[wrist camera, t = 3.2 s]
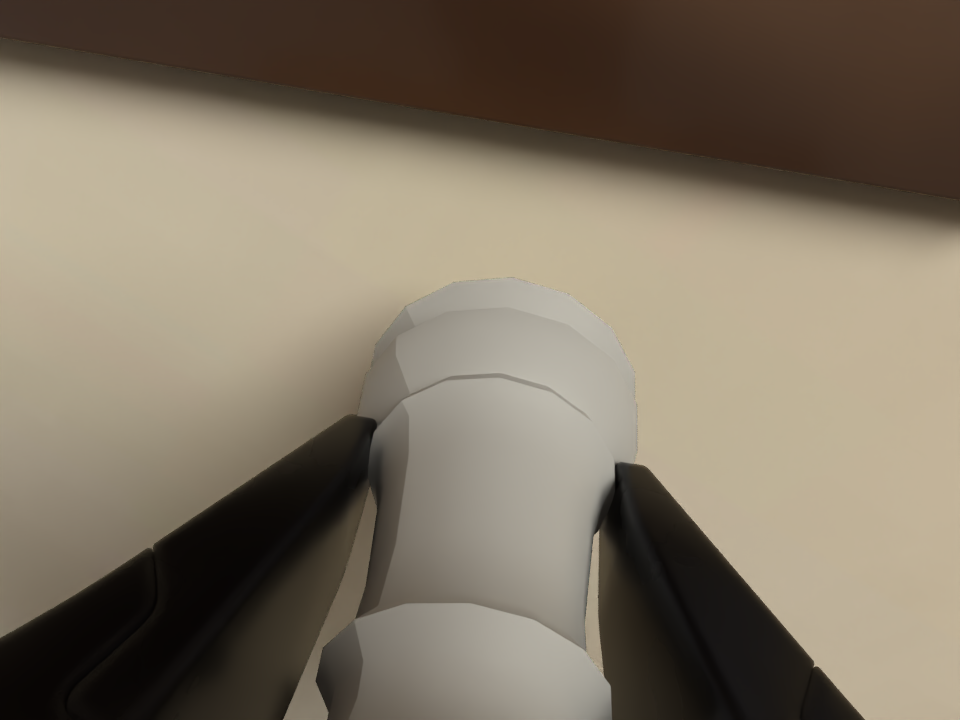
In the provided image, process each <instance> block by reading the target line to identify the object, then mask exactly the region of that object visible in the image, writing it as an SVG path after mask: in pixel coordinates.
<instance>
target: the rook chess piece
mask: <svg viewBox="0 0 960 720" xmlns="http://www.w3.org/2000/svg"><path fill="white" fill-rule="evenodd" d="M357 416H363V417H369V418H373V419H375V420H376V423H377V429H376V430H375V431H374V434H373V438H372V443H371V447H370V455H369V466H368V479H369V483H370V486H371V490H372V493H373V497H374V500H375V504H376V506H377V515H376V521H375V528H374V535H373V541H372V548H371V555H370V561H369V568H368V575H367V581H366V587H365V590H364V593H363V596H362V600H361V603H360V606H359V609H358V612H357V616H356V619H355V620H353V621H352V622H351V623H350V624H349V625H348V626H347V627H346V628H344V629H343V630H342V631H341V632H340V633H339V634H338V635H337V636H336V637H334V638H333V639H332V640H331V641H330V642H329V643H328V644H327V645H326V646H324V647H323V650H322V655H321V659H320V664H319V668H318V673H317V677H316V683H317V686H318V688H319V690H320V693H321V695H322V698H323V700H324V702H325V705H326V707H327V710H328V712H329V713H328V719H327V720H612V707H611V686H610V684H609V683H608V682H607V680H606V679H605V678H604V676H603V675H602V673H601V672H600V671H599V669H598V668H597V667H596V665H595V664H594V663H593V661H592V660H591V658H590V657H589V656H588V654H587V653H586V638H585V615H586V605H587V595H588V585H589V574H590V564H591V554H592V544H593V536H594V534H596V533H597V532H598V530H599V528H600V527H601V525H602V523H603V521H604V519H605V517H606V515H607V513H608V511H609V508H610V505H611V503H612V500H613V497H614V493H615V465H616V464H617V463H619V462H626V463H632V464H634V462H635V458H636V454H637V403H636V401H635V371H634V369H633V367H632V365H631V363H630V361H629V360H628V358H627V356H626V354H625V352H624V350H623V348H622V346H621V344H620V342H619V340H618V338H617V336H616V334H615V333H614V331H613V329H612V327H610V326H609V325H608V324H607V323H605V322H604V321H603V320H602V319H600V318H599V317H598V316H596V315H595V314H594V313H593V312H591V311H590V310H589V309H587V308H586V307H585V306H584V305H582V304H581V303H580V302H579V301H577V300H576V299H575V298H573V297H572V296H571V295H570V294H568V293H565V292H561V291H558V290H554V289H551V288H548V287H544V286H541V285H537V284H534V283H530V282H527V281H523V280H520V279H517V278H513V277H508V278H496V279H484V280H472V281H460V282H453V283H451V284H449V285H447V286H445V287H443V288H441V289H439V290H437V291H435V292H433V293H431V294H429V295H427V296H425V297H423V298H421V299H419V300H417V301H415V302H413V303H411V304H409V305H407V306H405V308H404V309H403V310H402V311H401V313H400V314H399V315H398V316H397V318H396V319H395V320H394V322H393V323H392V324H391V325H390V327H389V328H388V329H387V330H386V332H385V333H384V334H383V335H382V337H381V338H380V339H379V340H378V342H377V343H376V344H375V349H374V354H373V359H372V363H371V368H370V370H369V371H368V372H367V373H366V375H365V379H364V384H363V389H362V394H361V399H360V404H359V409H358V414H357Z"/></svg>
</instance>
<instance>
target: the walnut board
mask: <svg viewBox="0 0 960 720" xmlns="http://www.w3.org/2000/svg"><path fill="white" fill-rule="evenodd" d="M0 38H4V39H10V40H16V41H21V42H27V43H33V44H39V45H45V46H51V47H57V48H63V49H69V50H75V51H80V52H86V53H92V54H98V55H104V56H110V57H116V58H122V59H128V60H133V61H139V62H145V63H151V64H157V65H163V66H169V67H175V68H181V69H186V70H192V71H198V72H204V73H210V74H216V75H222V76H228V77H234V78H240V79H245V80H251V81H257V82H263V83H269V84H275V85H281V86H287V87H293V88H298V89H304V90H310V91H316V92H322V93H328V94H334V95H340V96H346V97H351V98H357V99H363V100H369V101H375V102H381V103H387V104H393V105H399V106H404V107H410V108H416V109H422V110H428V111H434V112H440V113H446V114H452V115H458V116H463V117H469V118H475V119H481V120H487V121H493V122H499V123H505V124H511V125H516V126H522V127H528V128H534V129H540V130H546V131H552V132H558V133H564V134H569V135H575V136H581V137H587V138H593V139H599V140H605V141H611V142H617V143H623V144H628V145H634V146H640V147H646V148H652V149H658V150H664V151H670V152H676V153H681V154H687V155H693V156H699V157H705V158H711V159H717V160H723V161H729V162H734V163H740V164H746V165H752V166H758V167H764V168H770V169H776V170H782V171H788V172H793V173H799V174H805V175H811V176H817V177H823V178H829V179H835V180H841V181H846V182H852V183H858V184H864V185H870V186H876V187H882V188H888V189H894V190H899V191H905V192H911V193H917V194H923V195H929V196H935V197H941V198H947V199H952V200H958V201H960V0H0Z"/></svg>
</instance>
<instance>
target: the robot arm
mask: <svg viewBox="0 0 960 720" xmlns="http://www.w3.org/2000/svg"><path fill="white" fill-rule="evenodd" d="M376 429H377V423H376V420H375V419H373V418H369V417H363V416H357V415H347V416H345V417H343V418H342V419H340V420H339V421H337V422H336V423H334V424H333V425H331V426H330V427H328V428H327V429H325V430H324V431H322V432H321V433H319V434H318V435H316V436H315V437H313V438H312V439H310V440H309V441H308V442H306V443H305V444H303V445H302V446H300V447H299V448H297V449H296V450H294V451H293V452H291V453H290V454H288V455H287V456H285V457H284V458H282V459H281V460H279V461H278V462H276V463H275V464H273V465H272V466H270V467H269V468H267V469H266V470H264V471H263V472H261V473H260V474H258V475H257V476H255V477H254V478H252V479H251V480H249V481H248V482H246V483H245V484H243V485H242V486H240V487H239V488H237V489H236V490H234V491H233V492H231V493H230V494H228V495H227V496H225V497H224V498H222V499H221V500H219V501H218V502H216V503H215V504H213V505H212V506H210V507H209V508H207V509H206V510H204V511H203V512H201V513H200V514H198V515H197V516H195V517H194V518H192V519H191V520H189V521H188V522H186V523H185V524H183V525H182V526H180V527H179V528H177V529H176V530H174V531H173V532H171V533H170V534H168V535H167V536H165V537H164V538H162V539H161V540H159V541H158V542H156V543H155V544H154V545H153V550H152V549H151V548H147V549H145V550H144V551H142V552H141V553H139V554H138V555H136V556H135V557H133V558H132V559H130V560H129V561H127V562H126V563H124V564H123V565H121V566H120V567H118V568H117V569H115V570H114V571H112V572H110V573H109V574H107V575H106V576H104V577H103V578H101V579H99V580H98V581H96V582H95V583H93V584H92V585H90V586H88V587H87V588H85V589H84V590H82V591H81V592H79V593H77V594H76V595H74V596H72V597H71V598H69V599H67V600H66V601H64V602H62V603H60V604H59V605H57V606H55V607H54V608H52V609H50V610H48V611H47V612H45V613H43V614H42V615H40V616H38V617H36V618H35V619H33V620H31V621H30V622H28V623H26V624H24V625H23V626H21V627H19V628H17V629H16V630H14V631H12V632H10V633H8V634H7V635H5V636H3V637H1V638H0V720H283V718H284V716H285V714H286V711H287V709H288V706H289V704H290V702H291V699H292V697H293V695H294V692H295V690H296V688H297V685H298V683H299V680H300V678H301V676H302V673H303V671H304V669H305V666H306V664H307V662H308V659H309V657H310V654H311V652H312V650H313V647H314V645H315V643H316V640H317V638H318V636H319V633H320V631H321V628H322V626H323V624H324V621H325V619H326V617H327V614H328V612H329V609H330V607H331V605H332V602H333V600H334V598H335V595H336V593H337V591H338V588H339V586H340V583H341V580H342V578H343V575H344V573H345V570H346V566H347V563H348V560H349V557H350V554H351V550H352V547H353V543H354V540H355V536H356V533H357V529H358V526H359V522H360V519H361V515H362V511H363V508H364V504H365V501H366V497H367V494H368V490H369V487H370V483H369V479H368V466H369V455H370V447H371V443H372V438H373V434H374V431H375V430H376ZM598 618H599V631H600V642H601V651H602V661H603V670H604V678H605V679H606V680H607V682H608V683H609V684H610V686H611V707H612V720H865V719H864V718H863V717H862V716H861V715H860V714H859V712H858V711H857V710H856V709H855V708H854V707H853V706H852V705H851V703H850V702H849V701H848V700H847V699H846V698H845V697H844V696H843V694H842V693H841V692H840V691H839V690H838V689H837V687H836V686H835V685H834V684H833V683H832V682H831V680H830V679H829V678H828V677H827V676H826V675H825V674H824V672H823V671H822V670H821V669H820V668H819V667H814V668H813V666H814V661H813V660H812V659H811V658H810V656H809V655H808V654H807V653H806V652H805V651H804V649H803V648H802V647H801V646H800V645H799V644H798V642H797V641H796V640H795V639H794V638H793V637H792V635H791V634H790V633H789V632H788V631H787V630H786V628H785V627H784V626H783V625H782V624H781V623H780V621H779V620H778V619H777V618H776V617H775V616H774V614H773V613H772V612H771V611H770V610H769V609H768V607H767V606H766V605H765V604H764V603H763V602H762V600H761V599H760V598H759V597H758V596H757V595H756V593H755V592H754V591H753V590H752V589H751V588H750V586H749V585H748V584H747V583H746V582H745V581H744V579H743V578H742V577H741V576H740V575H739V574H738V572H737V571H736V570H735V569H734V568H733V567H732V565H731V564H730V563H729V562H728V561H727V560H726V559H725V557H724V556H723V555H722V554H721V553H720V552H719V550H718V549H717V548H716V547H715V546H714V545H713V543H712V542H711V541H710V540H709V539H708V538H707V536H706V535H705V534H704V533H703V532H702V531H701V529H700V528H699V527H698V526H697V525H696V524H695V522H694V521H693V520H692V519H691V518H690V517H689V515H688V514H687V513H686V512H685V511H684V510H683V508H682V507H681V506H680V505H679V504H678V503H677V501H676V500H675V499H674V498H673V497H672V496H671V494H670V493H669V492H668V491H667V490H666V489H665V487H664V486H663V485H662V484H661V483H660V482H659V480H658V479H657V478H656V477H655V476H654V475H653V473H652V472H651V471H650V470H649V469H648V468H647V467H645V466H643V465H637V464H632V463H626V462H619V463H617V464H616V465H615V493H614V497H613V500H612V503H611V505H610V508H609V511H608V513H607V515H606V517H605V519H604V521H603V523H602V525H601V527H600V528H599V589H598Z"/></svg>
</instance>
